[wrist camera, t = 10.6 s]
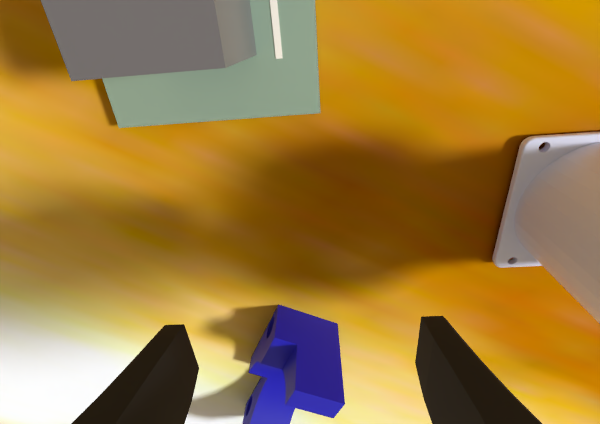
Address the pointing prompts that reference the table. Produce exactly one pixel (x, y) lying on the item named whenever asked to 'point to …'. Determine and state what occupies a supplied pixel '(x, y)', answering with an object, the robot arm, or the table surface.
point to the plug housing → (149, 35)
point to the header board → (234, 77)
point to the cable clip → (295, 369)
